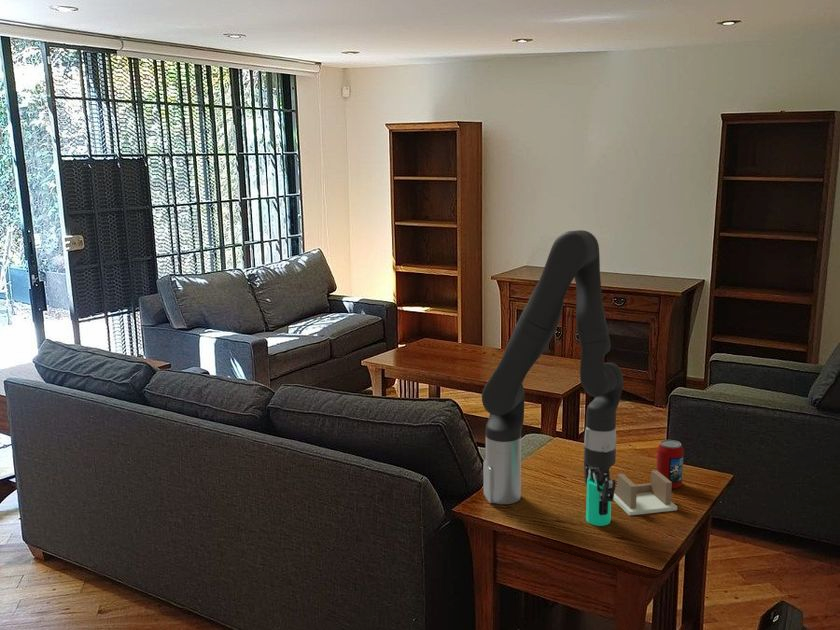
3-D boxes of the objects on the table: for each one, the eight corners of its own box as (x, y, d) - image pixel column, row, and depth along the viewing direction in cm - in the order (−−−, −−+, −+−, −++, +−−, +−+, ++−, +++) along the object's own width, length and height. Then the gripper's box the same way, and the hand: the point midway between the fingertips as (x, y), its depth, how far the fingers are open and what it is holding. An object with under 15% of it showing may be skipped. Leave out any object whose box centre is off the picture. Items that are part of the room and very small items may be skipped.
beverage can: (678, 492, 213) (680, 449, 210) (652, 486, 216) (654, 445, 214) (684, 482, 218) (686, 441, 216) (659, 477, 222) (661, 437, 219)
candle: (609, 514, 200) (610, 470, 198) (612, 526, 194) (613, 480, 192) (584, 514, 201) (585, 469, 198) (587, 525, 195) (588, 479, 192)
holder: (629, 515, 200) (630, 489, 198) (610, 497, 210) (611, 472, 209) (677, 510, 202) (678, 484, 201) (656, 492, 213) (657, 467, 211)
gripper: (574, 435, 200) (572, 498, 203) (597, 456, 186) (595, 523, 190) (602, 432, 201) (600, 495, 205) (627, 454, 187) (624, 520, 191)
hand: (598, 508), depth 197 cm, fingers closed on candle, 5 cm apart
